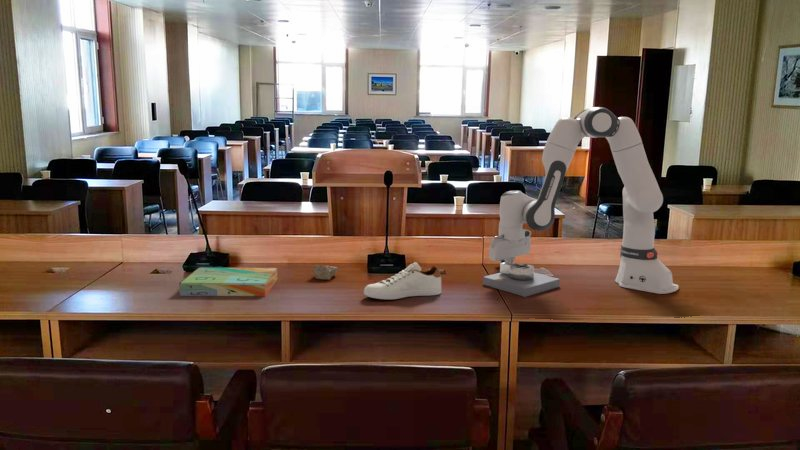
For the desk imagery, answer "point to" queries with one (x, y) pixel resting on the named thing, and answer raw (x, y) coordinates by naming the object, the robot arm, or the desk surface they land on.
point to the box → (228, 282)
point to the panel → (521, 283)
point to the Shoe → (407, 284)
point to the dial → (518, 271)
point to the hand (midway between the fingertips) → (509, 268)
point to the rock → (324, 271)
